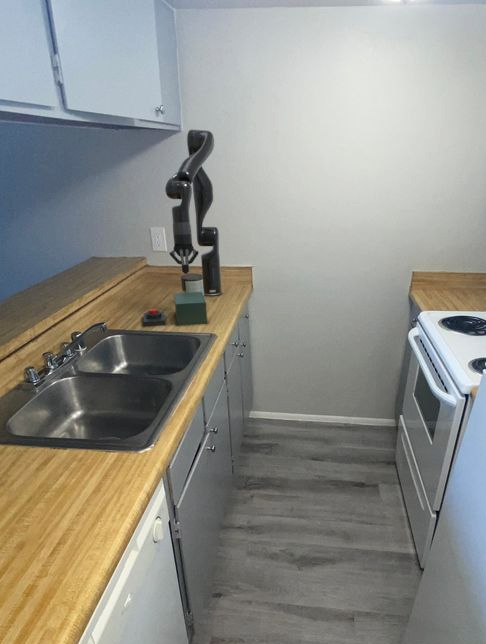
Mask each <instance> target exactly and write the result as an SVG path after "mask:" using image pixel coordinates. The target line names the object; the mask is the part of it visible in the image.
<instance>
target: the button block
mask: <svg viewBox="0 0 486 644" xmlns="http://www.w3.org/2000/svg"><path fill="white" fill-rule="evenodd" d="M165 315H166V314H165V311H161V310H158V313H157V314H149V310H148V311H146V312H143V317H142V318H143V323H142V324H143V327H144V328H145V327H146V328H147V327H156V326H158V327H159V326H166V316H165Z"/></svg>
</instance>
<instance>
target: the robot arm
mask: <svg viewBox="0 0 486 644" xmlns="http://www.w3.org/2000/svg"><path fill="white" fill-rule="evenodd" d="M186 136H187V137H186V143H187V144H186V146H187V152H188V157H186V158H185V159H184V160H183V161H182V162H181V163H180V166H179V167H178V170H177V172H175V173H174V174H173V175H172V176H171V177H170V178H169V179H168V180H167V181H166V184H165V187H164V190H165V191H164V192H165V195H166V196H167V197H168V198H169V199H170V200H181V202H180V204H178V205H174V206H172V208H171V214H172V216H171V217H172V234H173V244H174V245H173V249H172V250H171V251H169V255H170V256H171V258H172V259H173V260H174V261H175V262H176V264H177V265H180V266H181V272H182V273H183V275H185V274H189V272H190V268H189V266H190V264H193V263H194V261H195V260H196V258H197V257H198V255H199V251H198V250H197V249H195V248H194V246H193V238H192V237H193V236H192V224H191V219H190V206H191V201H192V196H193V203H194V211H195V226H196V241H197V245H198V246H199V247H212V248H211V249H210V250H209V251H206V252H203V253H202V254H201V255H200V259H201V261H200V262H201V273H202V274H201V275H203V288H204V296H209V297H213V296H219V295H222V279H221V258H220V257H221V256H220V232H219V228H218V227H217V226H204V221H205V218H206V215H207V214H208V212H209V210H210V208H211V207H212V205H213V202H214V186H213V183H212V180H211V178H210V177H209V175H208V173H207V172H206V170H205V169H204V167H203V165H204V164H205V162H206V161H207V160H208V158H209V157H210V156H211V154H212V153H213V151H214V148H215V136H214V133H213V132H212V131H210V130H205V129H204V130H203V129H189V130H188V131H187V135H186ZM192 194H193V195H192ZM176 254H177V256H178V257H179V258H180V259H179V258H178V257H177V256H176ZM191 255H192V256H191ZM190 256H191V257H190ZM189 257H190V258H189Z"/></svg>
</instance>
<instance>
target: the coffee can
mask: <svg viewBox="0 0 486 644" xmlns="http://www.w3.org/2000/svg"><path fill="white" fill-rule="evenodd" d="M180 280H181V291H182V293H191V292H202V293H203V296H204V297H205V295H204V288H203V275H202V274H200V273H188V274H182V275H181V276H180Z"/></svg>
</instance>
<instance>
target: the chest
mask: <svg viewBox="0 0 486 644" xmlns="http://www.w3.org/2000/svg"><path fill="white" fill-rule="evenodd" d="M173 298H174V299H175V297H173ZM174 308H175V317H176V322H177V326H191V325H193V326H194V325H205V324H206V325H207V324H208V315H207V303H206V304H196V305H180V306H176V303H175V302H174Z"/></svg>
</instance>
